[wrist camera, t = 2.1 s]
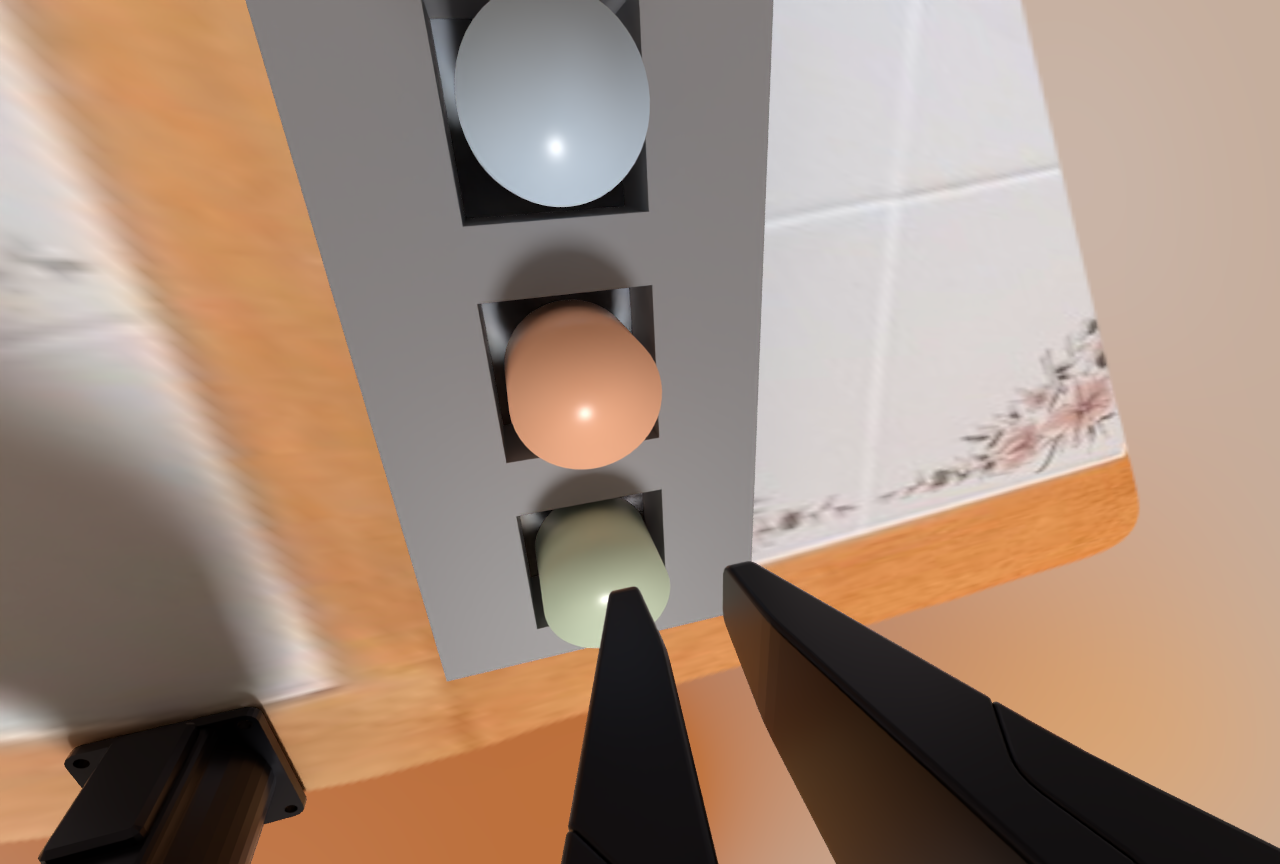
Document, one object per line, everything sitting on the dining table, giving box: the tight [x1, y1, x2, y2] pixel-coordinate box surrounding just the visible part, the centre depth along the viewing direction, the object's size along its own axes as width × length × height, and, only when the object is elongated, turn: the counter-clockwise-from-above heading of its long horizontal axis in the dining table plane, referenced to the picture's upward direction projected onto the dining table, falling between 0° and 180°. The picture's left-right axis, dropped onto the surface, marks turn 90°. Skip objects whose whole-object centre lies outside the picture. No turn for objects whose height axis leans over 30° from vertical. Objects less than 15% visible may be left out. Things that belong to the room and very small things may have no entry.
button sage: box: [535, 497, 670, 648], centre depth 19 cm, size 4×4×3 cm
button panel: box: [246, 0, 773, 681], centre depth 18 cm, size 22×12×3 cm, turn 4°
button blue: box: [454, 0, 650, 207], centre depth 13 cm, size 4×4×3 cm
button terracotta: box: [504, 299, 662, 469], centre depth 16 cm, size 4×4×3 cm
